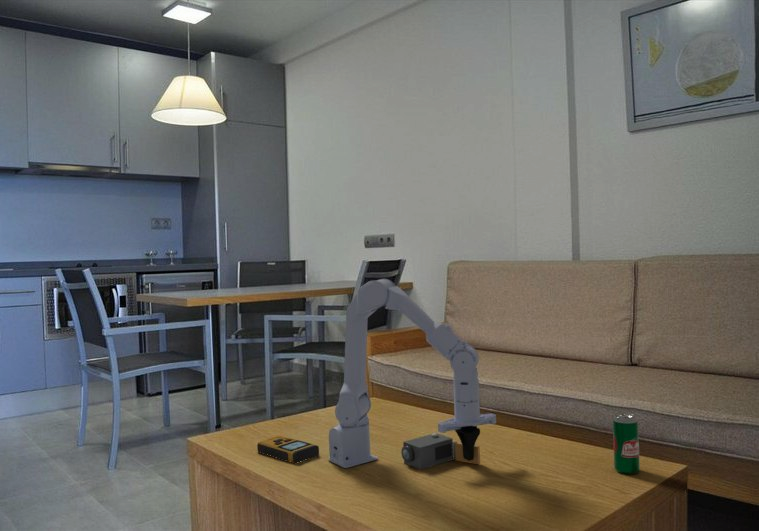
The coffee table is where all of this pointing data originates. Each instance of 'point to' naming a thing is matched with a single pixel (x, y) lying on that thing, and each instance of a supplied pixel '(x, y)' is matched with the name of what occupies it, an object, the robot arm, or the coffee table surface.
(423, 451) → the camera body
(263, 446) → the electronic device
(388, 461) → the coffee table surface
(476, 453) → the side door
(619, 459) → the soda can
